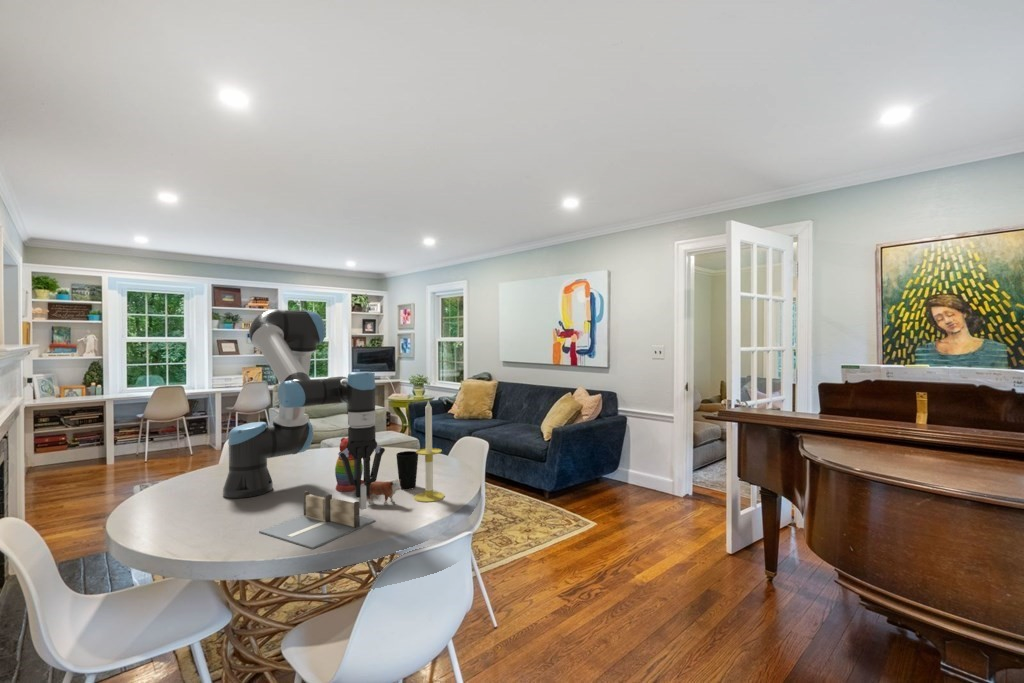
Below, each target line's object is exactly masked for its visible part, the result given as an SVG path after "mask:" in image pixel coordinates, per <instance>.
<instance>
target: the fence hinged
mask: <svg viewBox="0 0 1024 683" xmlns="http://www.w3.org/2000/svg"><path fill="white" fill-rule="evenodd" d="M360 512H361V509H360V502H359V501H354V502H351V501H346V500H344V499H338V498H332V499H331V500H330V519H331V521H333V522H337V523H341V524H345V525H349V526H353V527H360V516H361V515H360Z"/></svg>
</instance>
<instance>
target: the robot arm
mask: <svg viewBox="0 0 1024 683" xmlns="http://www.w3.org/2000/svg"><path fill="white" fill-rule="evenodd" d="M248 334H249V340H250V342H251V344H252V345H253V347H254V348H256V349H257V350H259V351H260V352H261V353H262V355H263V357H264V359H265V360H266V362H267V363H268V365H269V367H270V369H271V370H272V372H273V374H274V376H275V378H276V379H277V380H278V382H279V386H278V389H277V398H278V402H279V407H278V408H279V409H278V414H277V415H276V416H274V417H273V420H272V424H269V425H268V424H267V422H266V421H257V422H254V421H253V422H248V423H244V424H239V425H238V426H235V427H233V428H232V429H231V430H230V431H229V434H228V441H227V445H228V472H227V473H228V474H227V477H226V479H225V481H224V484H223V488H222V496H223V497H225V498H226V499H244V498H245V499H246V498H251V497H256V496H259V495H263V494H266V493H269V492H271V491H272V490H273V489H274V487H273V486H274V484H273V482H274V481H273V479H272V477H271V474H270V472H269V468H268V459H271V458H278V457H284V456H289V455H290V456H291V455H297V454H300V453H301V454H302V453H304V452H306V451H308V450H309V448H310V447H311V444H312V442H313V438H314V432H313V429H314V428H313V425H312V423H311V422H310V421H309V418H308V417H307V416H306V415H305V411H306V407H313V406H314V407H315V406H320V405H321V406H322V405H333V404H347V425H348V428H347V438H348V444H347V446H346V449H345V450H344V451H342V452H340V451H339V452H338V453H337V454H338V457H339V456H340V458H341V459H342V461H343V465H344V469H345V472H346V476H347V480H348V483H349V484H350V485H351V486H355V491H354V496H355V497H356V499H358V502H360V511H362V510H366V509H367V501H366V496H369V494H370V485H371V483H372V482H375V481H377V477H378V473H379V469H380V464H381V461H382V460H381V459H382V456H383V455H384V453H385V451H386V448H384V447H383V446H380V445H378V442H377V440H376V438H377V437H376V426H375V424H376V385H377V384H376V381H375V380H376V378H375V377H376V376H375V373H374V372H372V371H352V372H349V373H348V375H347V376H336V377H331V378H317V379H315V378H313V379H311V378H310V368H311V360H312V354H313V353H315V352H316V351H317V346H318V345H320V344H323V343H324V340H325V337H326V329H325V324H324V321H323V318H322V316H321V315H320V314H319V313H318V312H316V311H311V310H299V309H298V310H293V309H292V310H291V309H288V310H287V309H269V310H266V311H263V312H261V313H260V314H258V315H257V316H256V317H255V318H254V319H253V320H252V322H251V323H250V327H249V331H248ZM348 452H349V453H350V454H351V455H352V456H353V457H354V479H353V475H352V471H351V467H350V464H349V460H348V456H349V455H348ZM373 453H374V457H373V461H372V466H371V457H372V454H373ZM361 460H363V461H362V462H363V463H362V465H363V473H362V477H363V480H364V484H361V480H362V477H361Z"/></svg>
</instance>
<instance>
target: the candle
mask: <svg viewBox="0 0 1024 683" xmlns="http://www.w3.org/2000/svg"><path fill="white" fill-rule="evenodd" d="M430 403H431V402H430V400H429V399H428V400H427V403H426V406H425V407H424V408H425V412H424V413H425V415H424V416H425V420H424V421H425V448H420V449H417V450H416V451H415V452H416V453H417V454H418V456H419V455H421V456H424V463H425V464H424V465H425V466H424V472H425V475H424V476H425V477H424V478H425V479H424V480H425V483H424V484H425V489H424V490H425V491H424V492H420V493H418V494H415V496H413V499H414V501H416V502H419V503H433V502H434V501H435V502H438V500H439V501H441V500H443V499H444V498H445V494H444V493H442V492H438V491H434V455H437V454H441V453H442V449H441V448H437V447H434V448H433V409H432V408H433V407H432V405H431V404H430Z"/></svg>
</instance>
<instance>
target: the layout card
mask: <svg viewBox="0 0 1024 683" xmlns="http://www.w3.org/2000/svg"><path fill="white" fill-rule="evenodd" d="M374 522H376V519H373V518H369V517H366V516H362V515H360V527H353V526H349V525H345V524H341V523H337V522H333V521H329V522H326V521H325V520H320V519H317V518H313V517H309V516H304V514H302V515H299V516H296V517H293V518H291V519H288V520H284V521H282V522H280V523H277V524H275V525H272V526H269V527H266V528H263V529H261V530H259V531H258V532H259V533H260V534H262V535H267V536H270V537H273V538H276V539H280V540H282V541H285V542H289V543H291V542H292V544H296V545H298V546H300V547H305V548H308V549H311V550H314V549H317V548H318V547H320V546H323V545H325V544H328V543H329V542H332V541H334V540H336V539H339V538H341V537H343V536H345V535H348V534H350V533H351V532H354V531H357V530H359V529H361V528H363V527H366V526H368V525H370V524H372V523H374Z"/></svg>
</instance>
